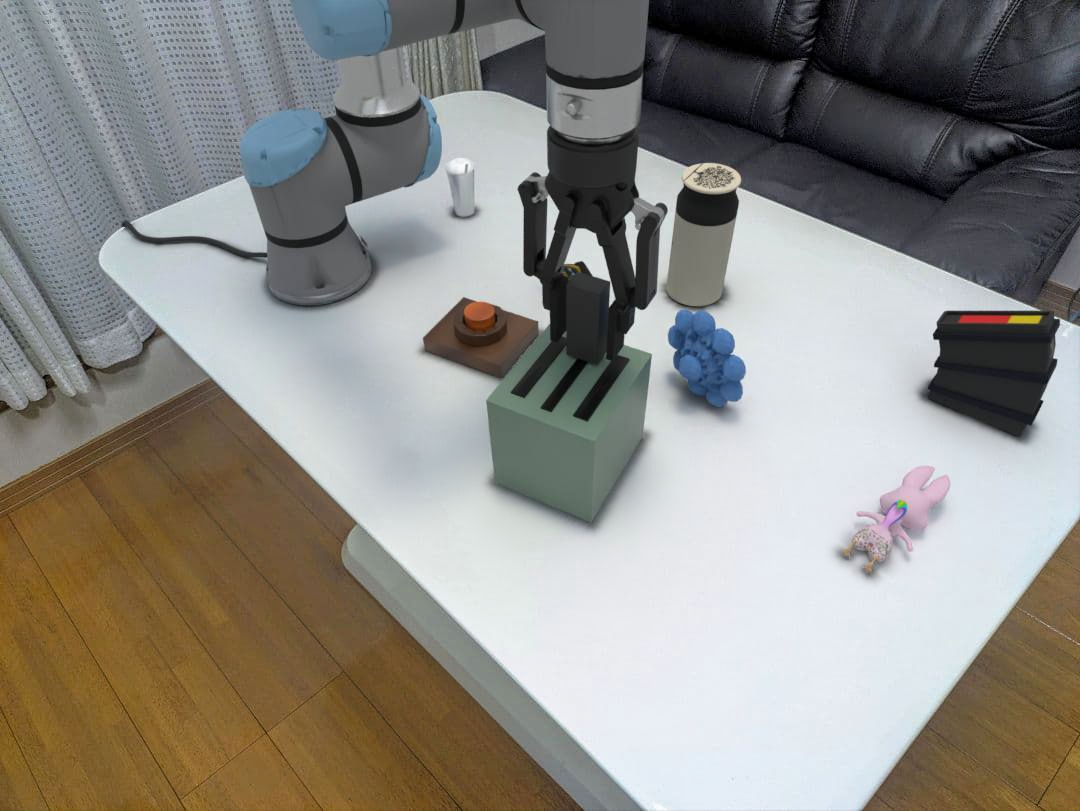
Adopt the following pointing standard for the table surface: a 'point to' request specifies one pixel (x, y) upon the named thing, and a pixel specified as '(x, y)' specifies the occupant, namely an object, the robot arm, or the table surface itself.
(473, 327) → the button
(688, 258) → the travel mug
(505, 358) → the button block
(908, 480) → the rabbit figure
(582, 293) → the slider
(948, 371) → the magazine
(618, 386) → the toaster
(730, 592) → the table surface
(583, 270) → the tape measure
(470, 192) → the milkshake
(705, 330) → the grapes
